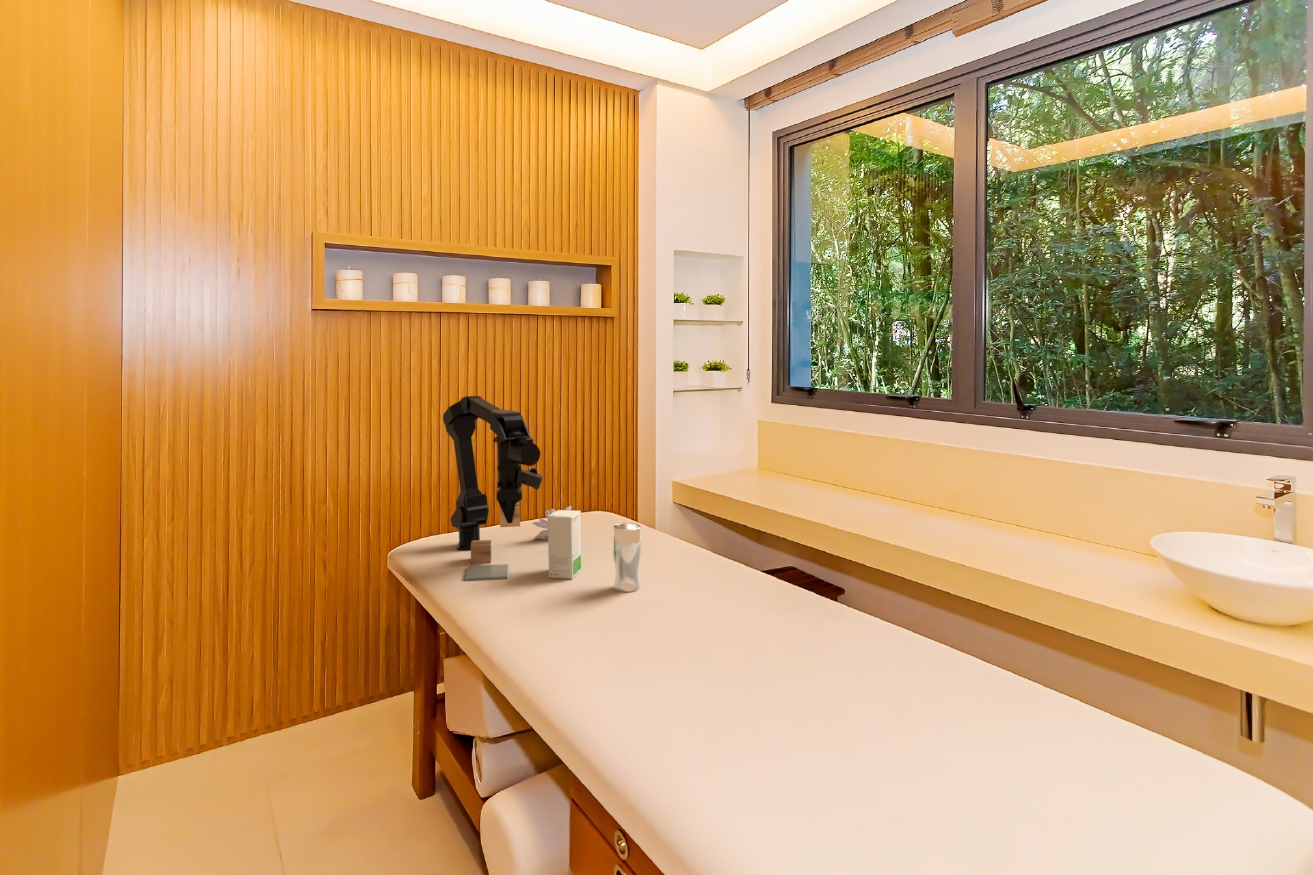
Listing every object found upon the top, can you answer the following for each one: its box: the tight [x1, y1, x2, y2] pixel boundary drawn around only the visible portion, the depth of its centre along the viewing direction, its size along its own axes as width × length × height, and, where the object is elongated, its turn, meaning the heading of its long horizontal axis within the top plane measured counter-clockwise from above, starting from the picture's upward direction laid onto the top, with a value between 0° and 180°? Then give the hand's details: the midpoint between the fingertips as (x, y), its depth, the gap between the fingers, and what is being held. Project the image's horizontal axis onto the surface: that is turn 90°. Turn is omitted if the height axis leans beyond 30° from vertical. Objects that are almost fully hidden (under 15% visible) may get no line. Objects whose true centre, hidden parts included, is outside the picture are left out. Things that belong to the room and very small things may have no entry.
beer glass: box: [611, 522, 643, 593], centre depth 171 cm, size 7×7×15 cm
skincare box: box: [547, 509, 583, 580], centre depth 181 cm, size 8×7×16 cm
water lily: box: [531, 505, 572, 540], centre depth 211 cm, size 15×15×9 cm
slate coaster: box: [464, 563, 509, 582], centre depth 181 cm, size 10×10×1 cm
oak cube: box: [499, 502, 521, 528], centre depth 188 cm, size 5×5×5 cm
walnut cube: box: [470, 539, 492, 565], centre depth 191 cm, size 5×5×5 cm
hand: (509, 520), depth 188 cm, fingers closed on oak cube, 5 cm apart
